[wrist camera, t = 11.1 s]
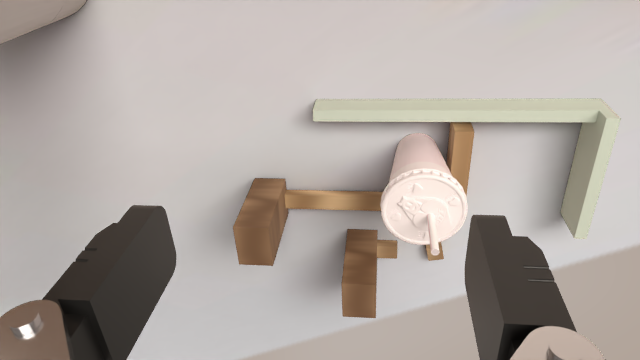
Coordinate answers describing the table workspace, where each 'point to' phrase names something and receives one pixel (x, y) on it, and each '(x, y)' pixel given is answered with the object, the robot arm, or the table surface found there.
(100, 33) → the table surface
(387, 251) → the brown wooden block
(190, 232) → the table surface
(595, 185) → the frame
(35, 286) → the table surface
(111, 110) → the table surface
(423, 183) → the smoothie
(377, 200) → the wooden mallet
